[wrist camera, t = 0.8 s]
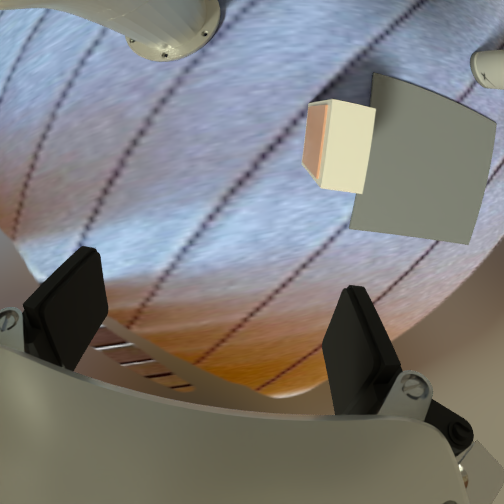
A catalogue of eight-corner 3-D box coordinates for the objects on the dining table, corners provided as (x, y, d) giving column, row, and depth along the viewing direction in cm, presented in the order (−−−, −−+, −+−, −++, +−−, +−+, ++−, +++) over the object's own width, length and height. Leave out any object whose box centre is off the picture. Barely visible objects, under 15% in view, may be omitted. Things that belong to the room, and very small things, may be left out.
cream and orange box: (306, 103, 31) (330, 98, 20) (339, 108, 31) (375, 108, 20) (300, 163, 35) (318, 188, 24) (331, 168, 35) (362, 194, 24)
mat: (372, 72, 28) (374, 72, 28) (494, 123, 29) (496, 123, 28) (348, 227, 38) (349, 229, 38) (466, 243, 39) (468, 244, 38)
